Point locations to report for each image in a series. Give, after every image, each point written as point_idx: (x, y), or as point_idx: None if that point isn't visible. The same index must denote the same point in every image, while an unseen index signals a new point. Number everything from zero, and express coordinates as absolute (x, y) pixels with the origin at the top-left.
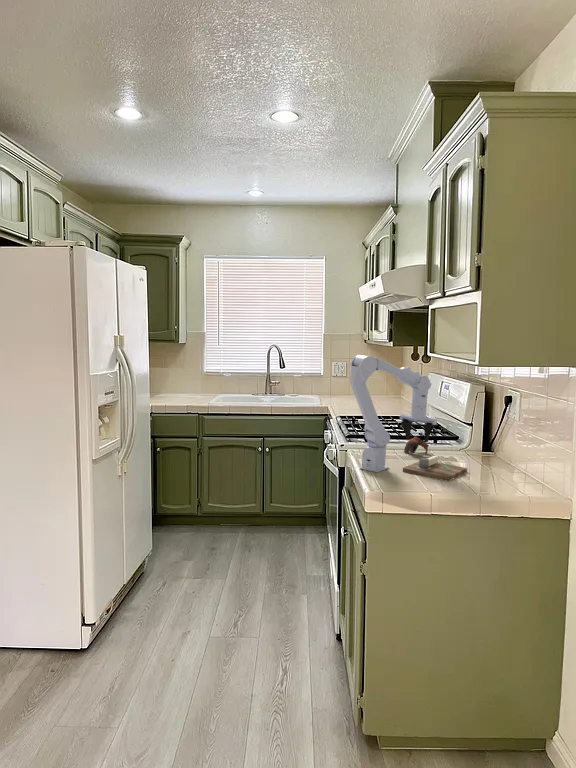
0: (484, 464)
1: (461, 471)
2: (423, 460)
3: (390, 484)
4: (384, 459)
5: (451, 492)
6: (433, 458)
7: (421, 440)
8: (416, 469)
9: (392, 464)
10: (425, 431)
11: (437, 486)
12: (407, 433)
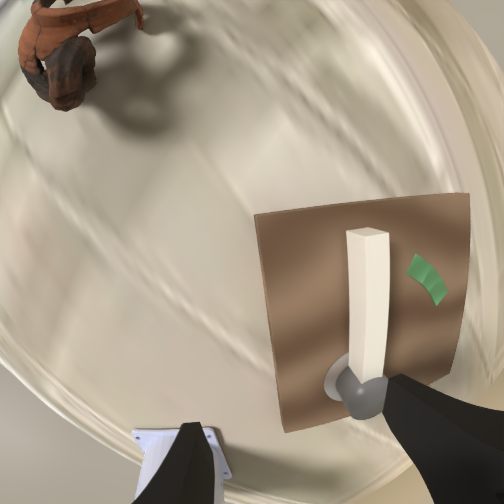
0: (420, 22)
1: (467, 260)
2: (377, 414)
3: (325, 490)
4: (218, 480)
5: None
6: (387, 309)
7: (89, 6)
8: (339, 409)
9: (168, 374)
10: (438, 485)
11: None
12: (211, 499)
